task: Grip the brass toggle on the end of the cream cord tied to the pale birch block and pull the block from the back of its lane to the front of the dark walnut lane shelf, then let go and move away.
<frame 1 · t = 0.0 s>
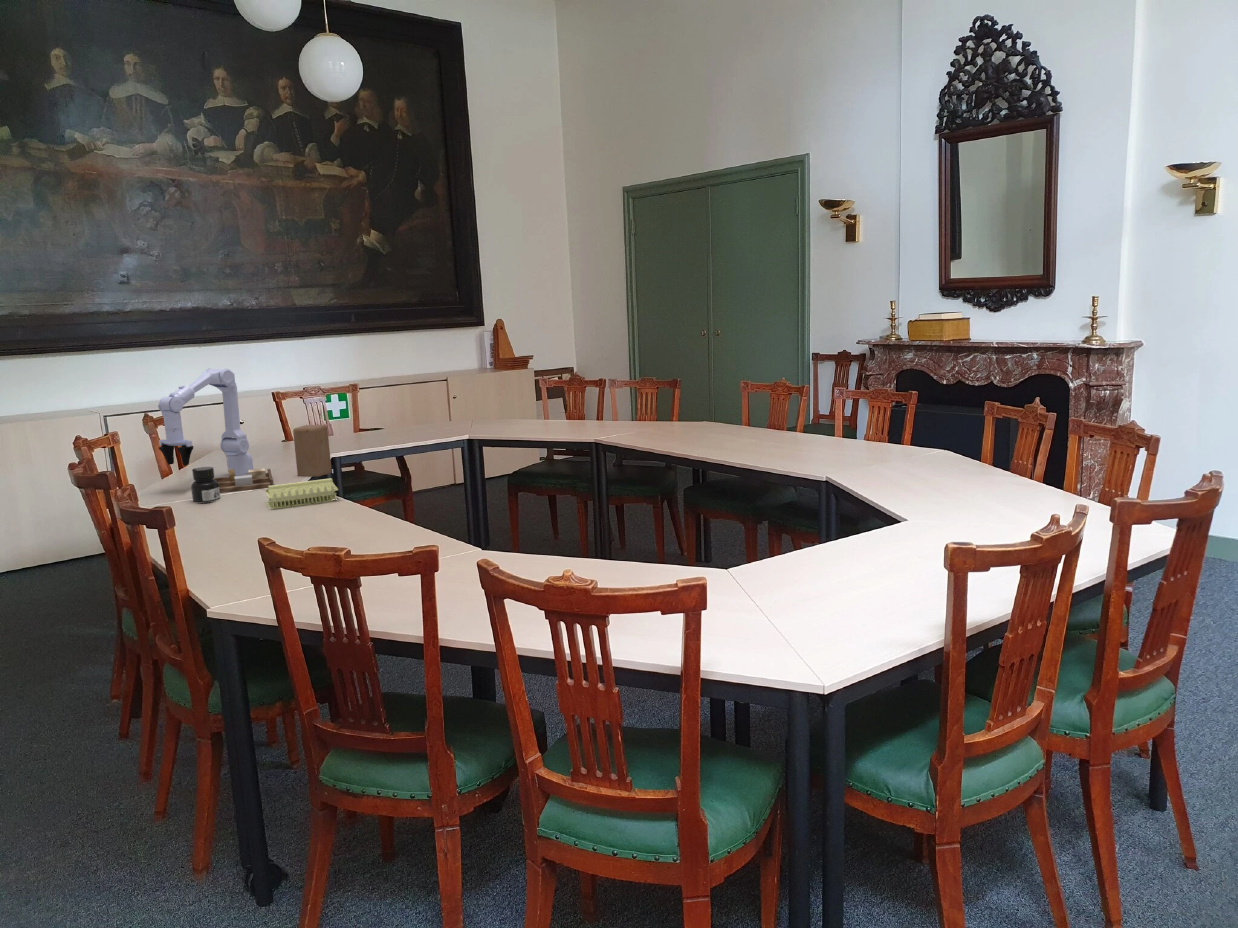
hand: (178, 464, 327), 10 cm above the table, tool pointing down, fingers open, 7 cm apart
lane shelf: (238, 487, 333), on the table
ink bottle: (207, 502, 310), on the table
birch block: (257, 480, 340), point 1 cm above the table, touching lane shelf
grey block: (244, 487, 329), point 1 cm above the table, touching lane shelf
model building: (302, 502, 307), on the table
wooden block: (315, 476, 350), on the table
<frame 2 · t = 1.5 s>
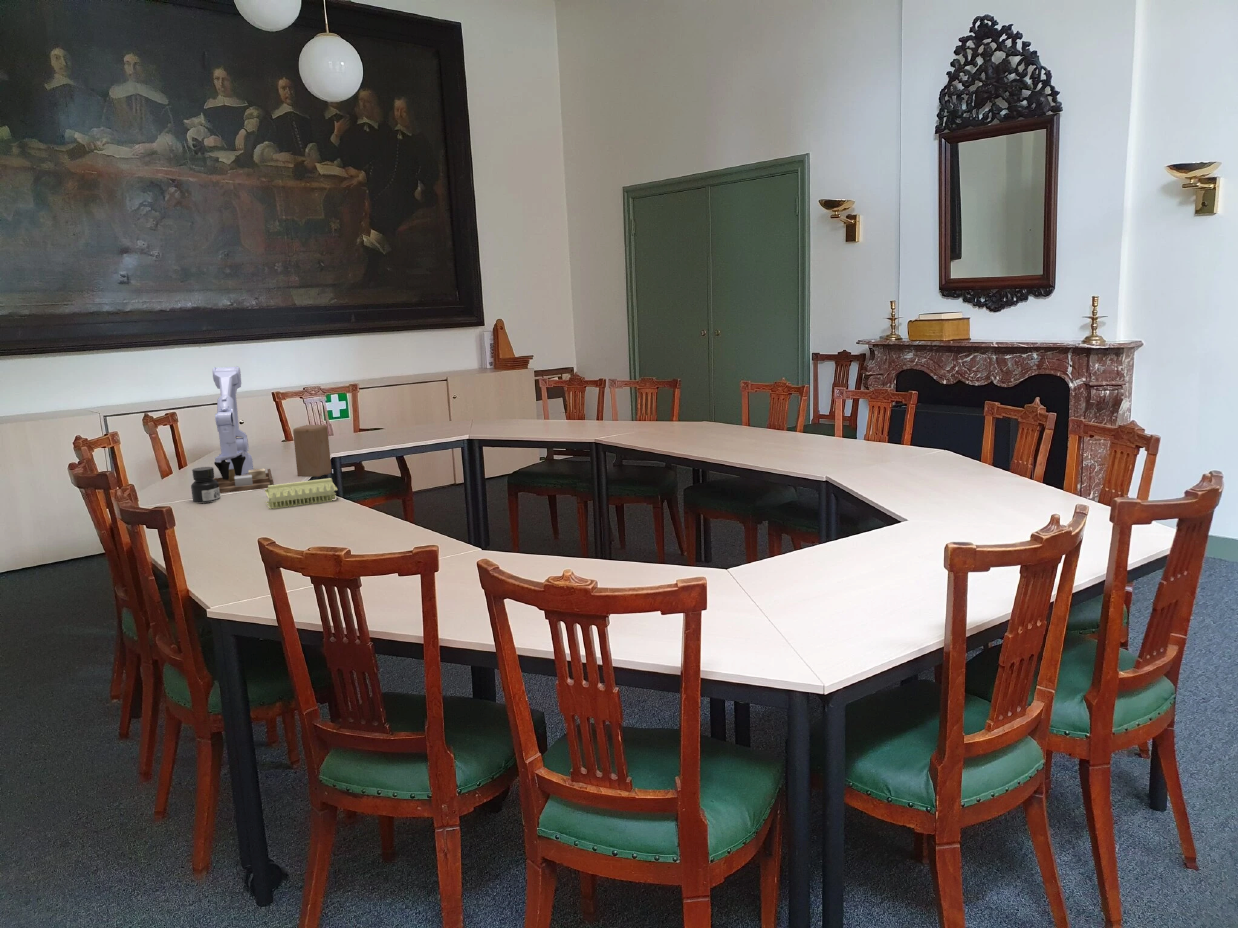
hand: (232, 477, 336), 3 cm above the table, tool pointing down, fingers open, 7 cm apart
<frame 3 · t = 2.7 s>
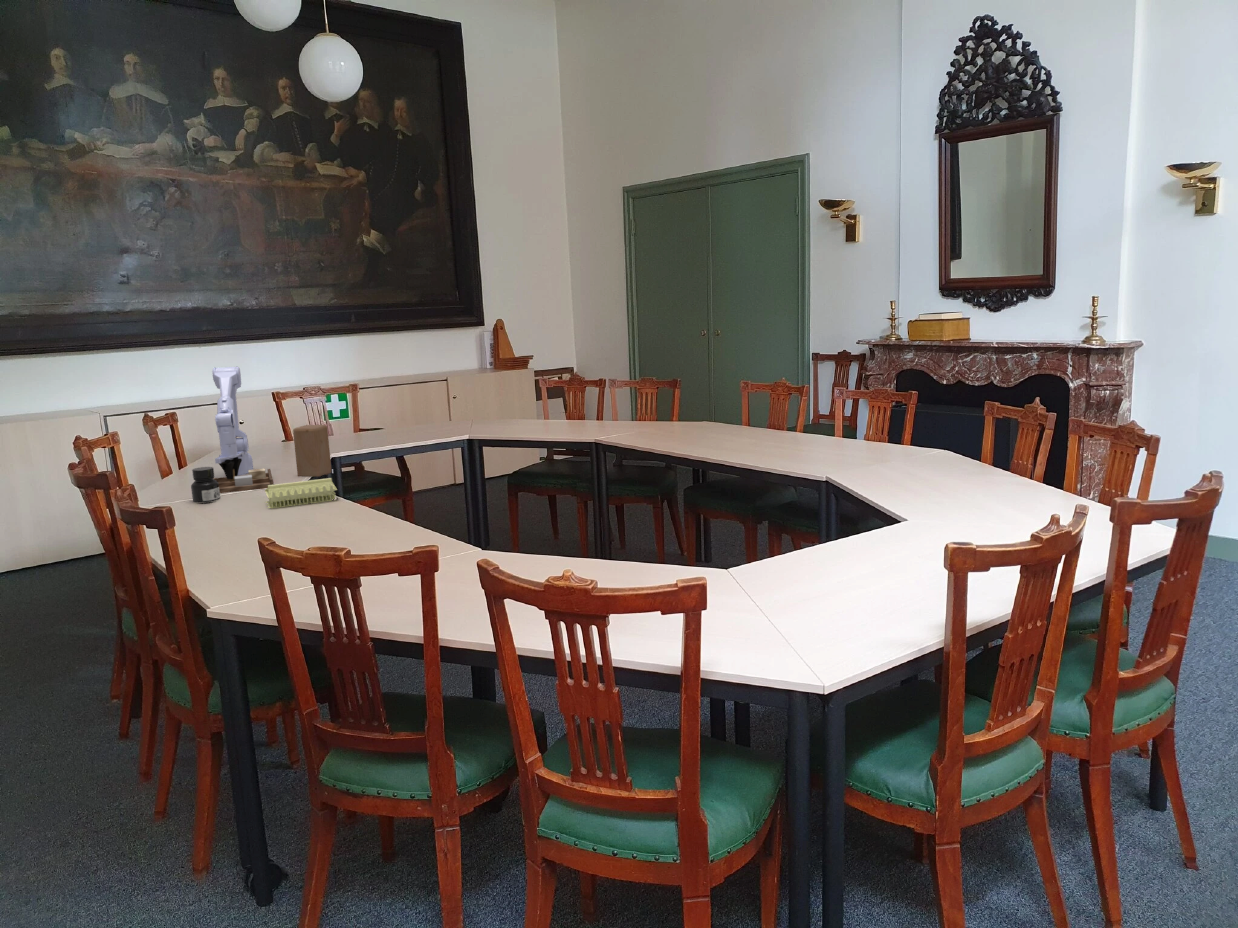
hand: (232, 478, 337), 3 cm above the table, tool pointing down, fingers closed on birch block, 2 cm apart
birch block: (257, 480, 340), point 1 cm above the table, touching gripper, lane shelf
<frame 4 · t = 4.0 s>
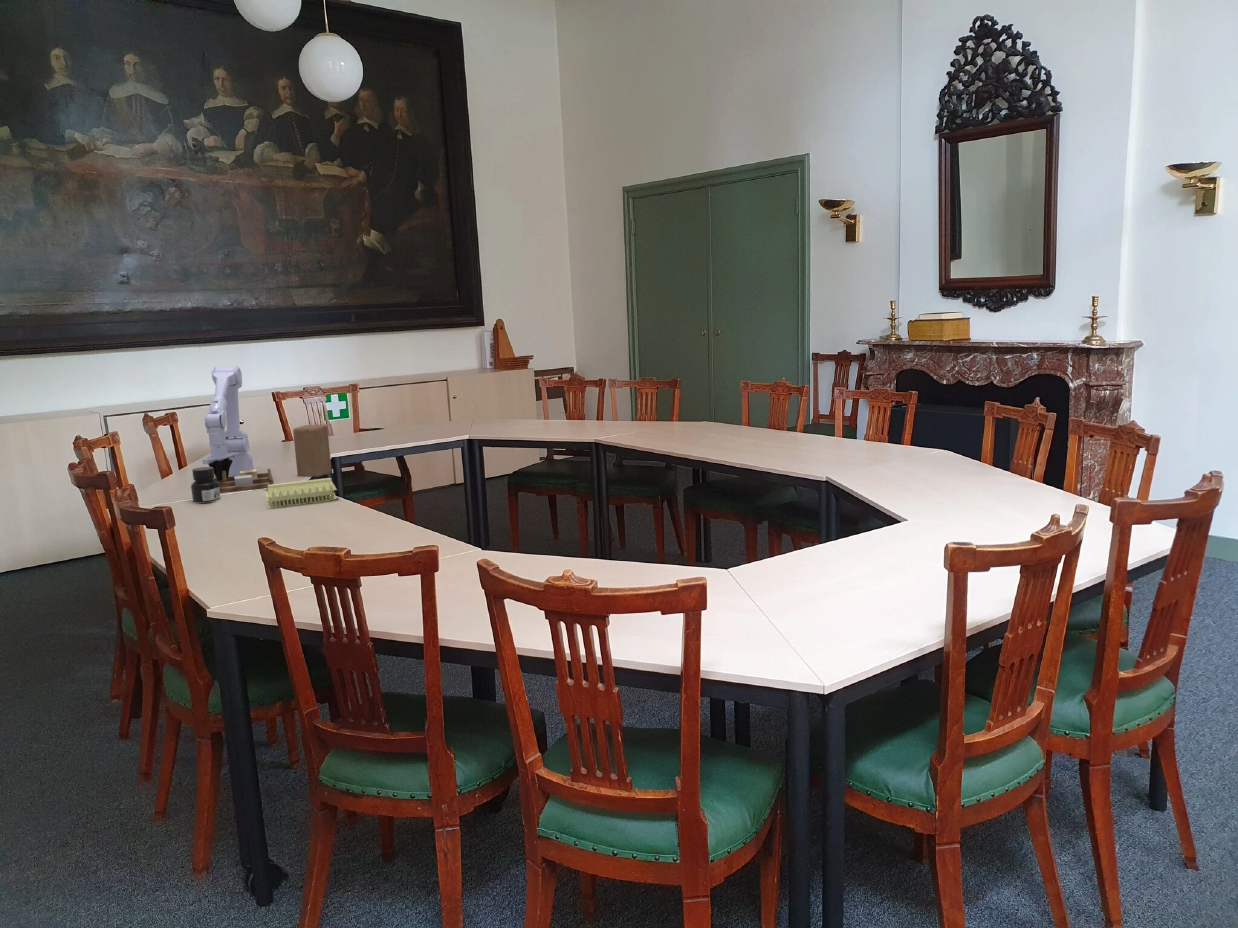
hand: (222, 479, 335), 3 cm above the table, tool pointing down, fingers closed on birch block, 2 cm apart
birch block: (249, 481, 339), point 1 cm above the table, touching gripper
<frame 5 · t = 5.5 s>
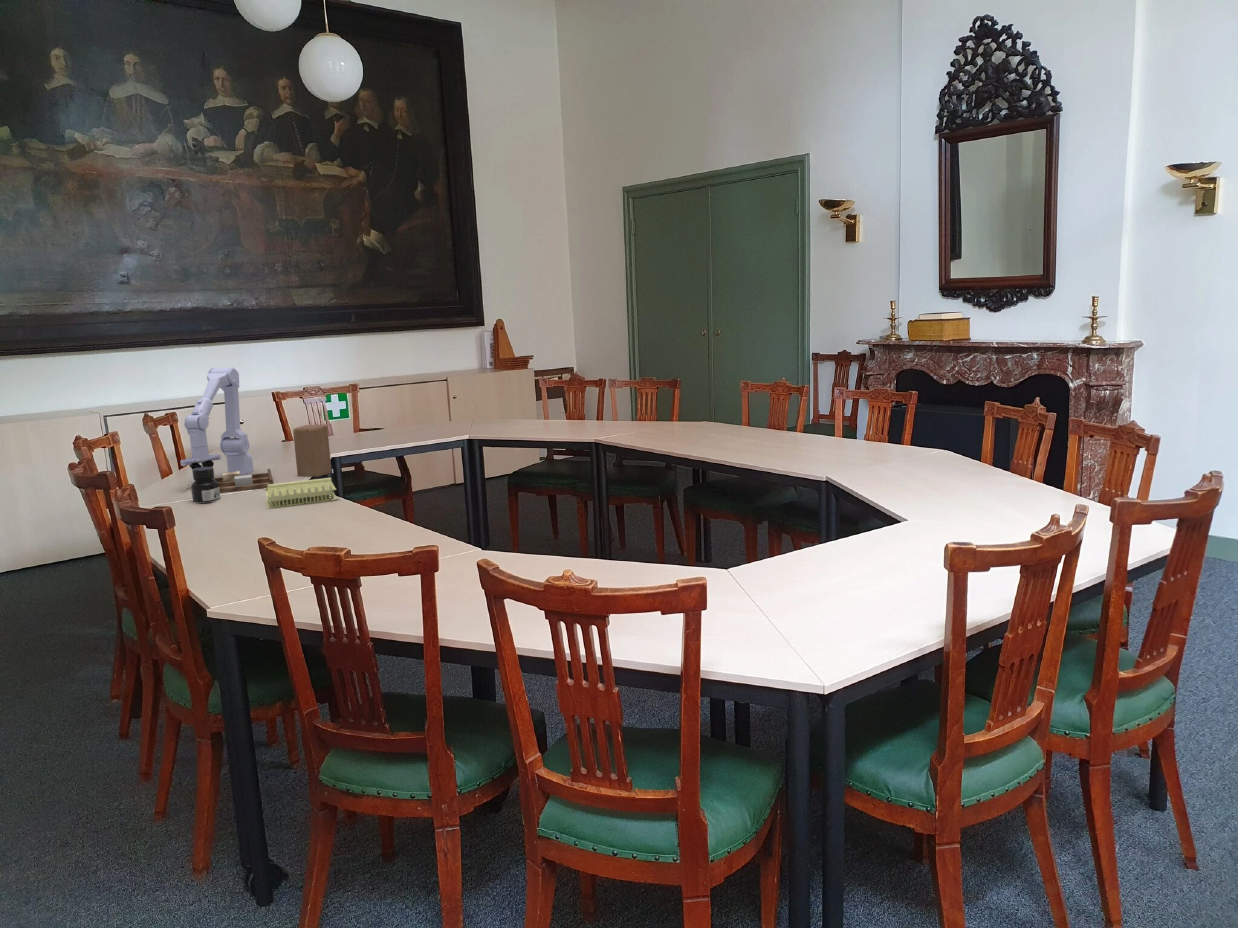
hand: (203, 481, 333), 3 cm above the table, tool pointing down, fingers closed on birch block, 2 cm apart
birch block: (232, 483, 336), point 1 cm above the table, touching gripper, lane shelf
when the fingers open (3 cm above the table, at t = 6.4 s): birch block stays where it is, resting on lane shelf.
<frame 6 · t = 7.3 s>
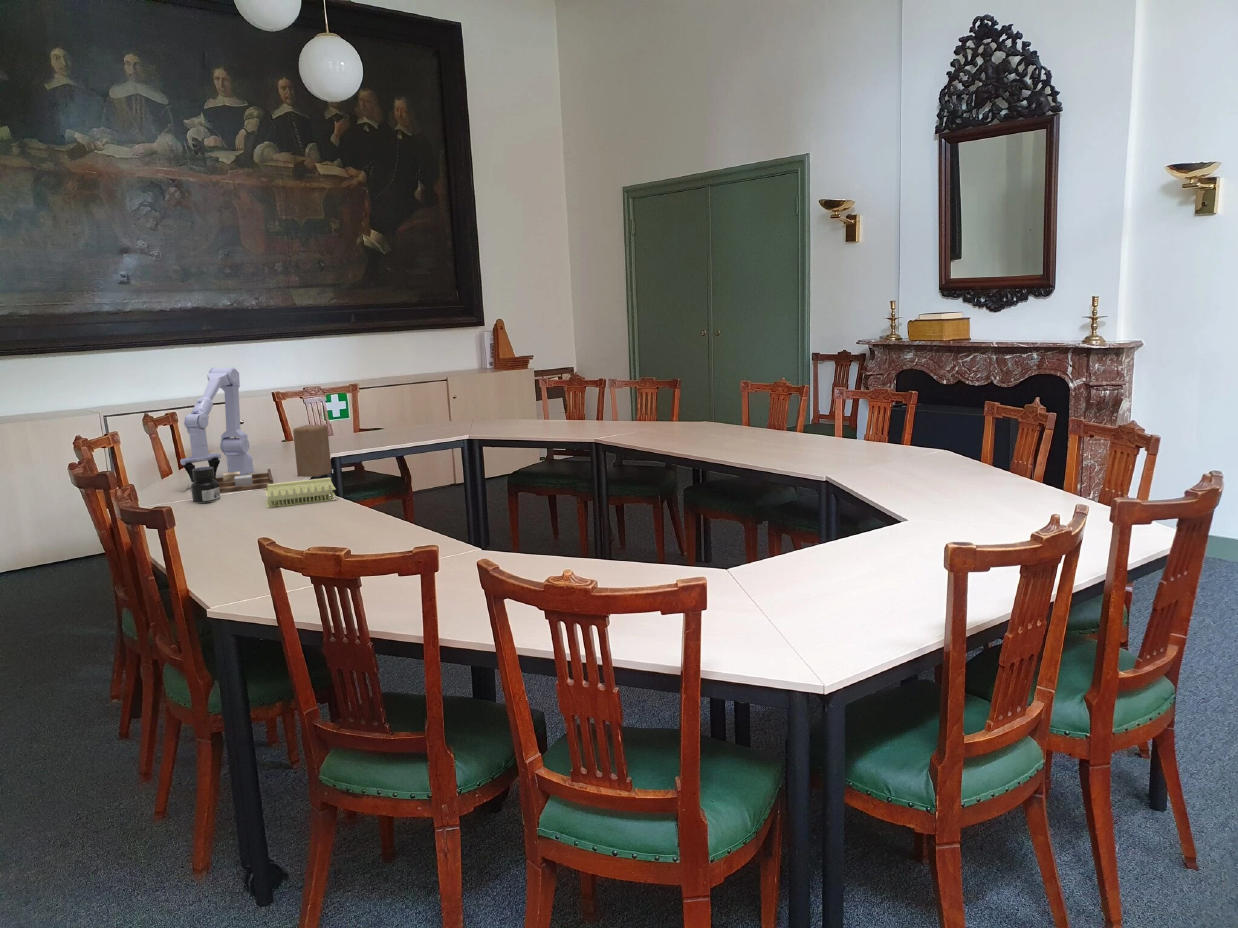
hand: (203, 480, 333), 3 cm above the table, tool pointing down, fingers open, 7 cm apart
birch block: (232, 483, 336), point 1 cm above the table, touching lane shelf
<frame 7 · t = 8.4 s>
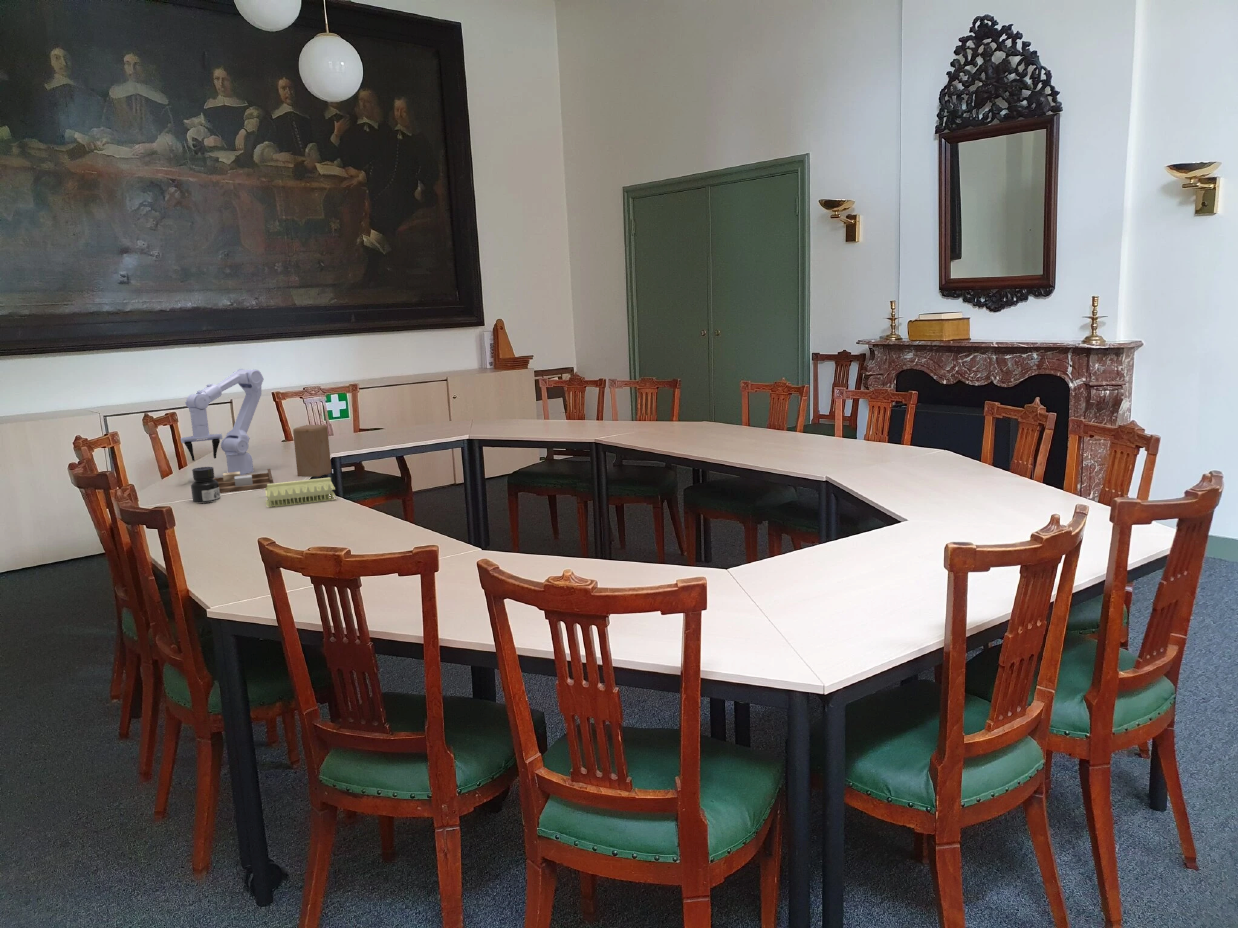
hand: (204, 459, 341), 9 cm above the table, tool pointing down, fingers open, 7 cm apart
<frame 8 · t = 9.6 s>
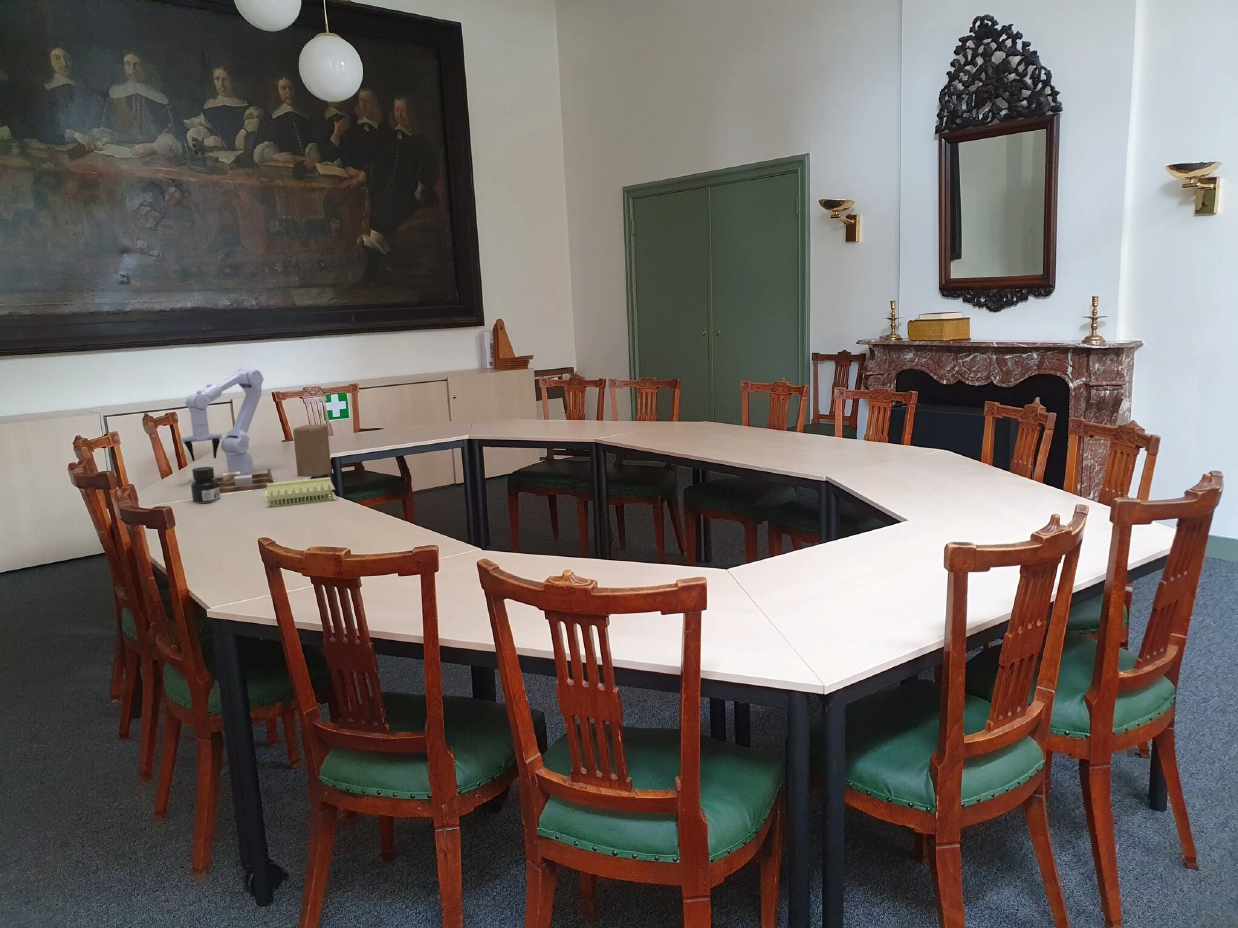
hand: (204, 459, 341), 9 cm above the table, tool pointing down, fingers open, 7 cm apart
at the end: birch block inside the target area on the lane shelf (1.7 cm from its centre), point 0.8 cm above the lane shelf's base; birch block tilted 0°; the gripper is holding nothing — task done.
